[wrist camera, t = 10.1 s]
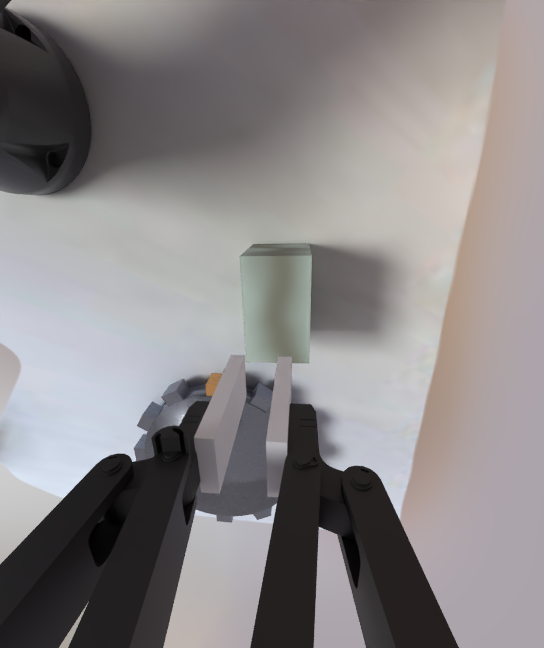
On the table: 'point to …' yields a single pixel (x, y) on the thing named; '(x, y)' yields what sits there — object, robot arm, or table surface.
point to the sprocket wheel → (246, 456)
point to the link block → (276, 301)
